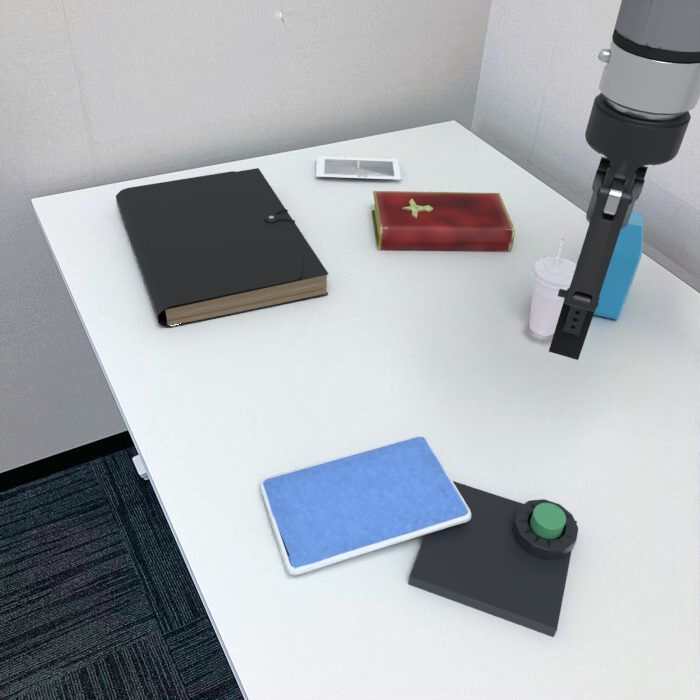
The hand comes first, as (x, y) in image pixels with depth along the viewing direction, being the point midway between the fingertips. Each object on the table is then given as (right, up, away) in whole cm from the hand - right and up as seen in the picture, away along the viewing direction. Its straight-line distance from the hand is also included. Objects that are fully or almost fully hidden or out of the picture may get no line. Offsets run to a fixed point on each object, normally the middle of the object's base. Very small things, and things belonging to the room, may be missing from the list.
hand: (576, 313), depth 73 cm
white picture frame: (-21, +28, +62) cm, 71 cm away
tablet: (-21, -20, +5) cm, 29 cm away
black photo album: (-43, +12, +41) cm, 60 cm away
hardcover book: (-8, +15, +48) cm, 51 cm away
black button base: (-8, -24, +2) cm, 25 cm away
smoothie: (+4, -1, +30) cm, 31 cm away
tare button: (-3, -21, +1) cm, 21 cm away
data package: (+15, +4, +36) cm, 40 cm away
